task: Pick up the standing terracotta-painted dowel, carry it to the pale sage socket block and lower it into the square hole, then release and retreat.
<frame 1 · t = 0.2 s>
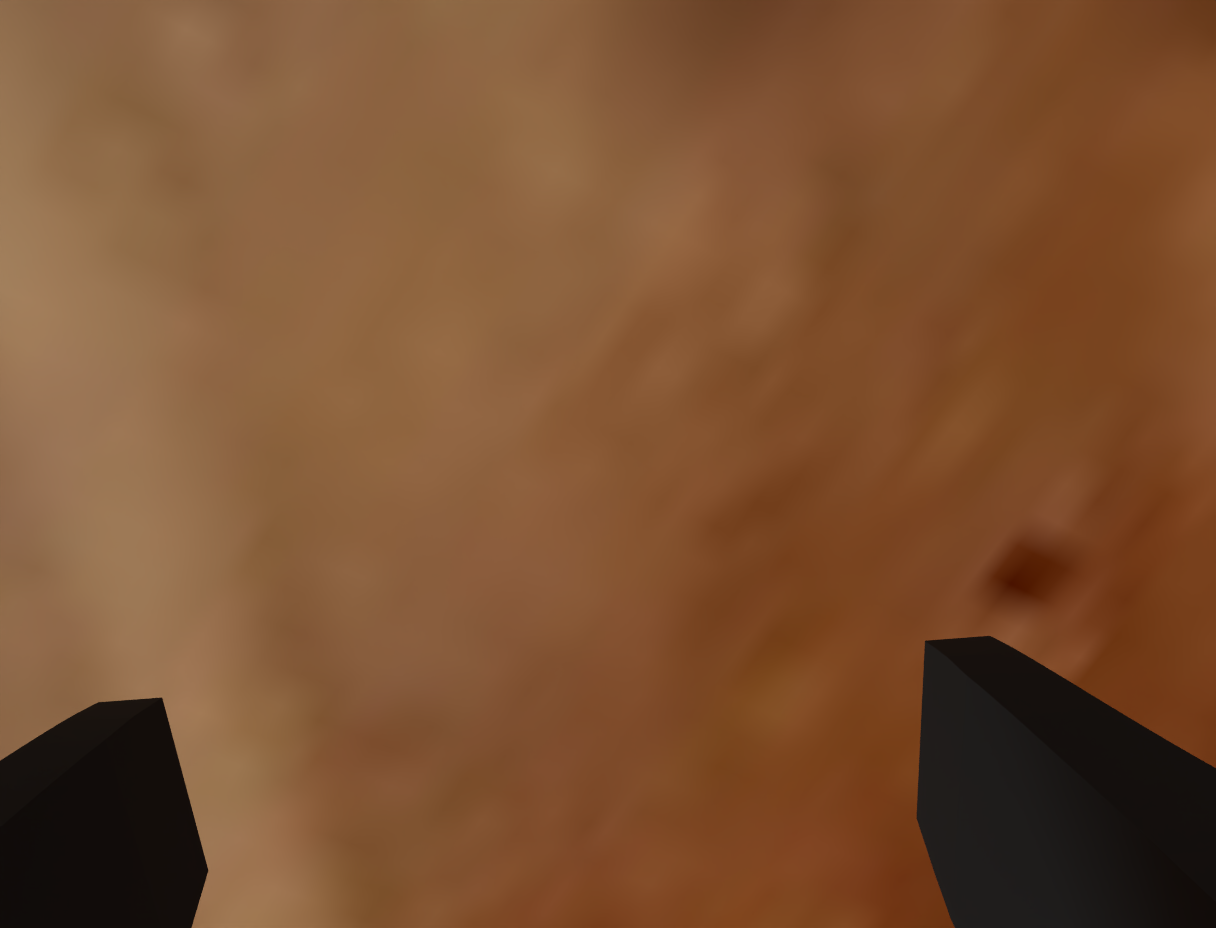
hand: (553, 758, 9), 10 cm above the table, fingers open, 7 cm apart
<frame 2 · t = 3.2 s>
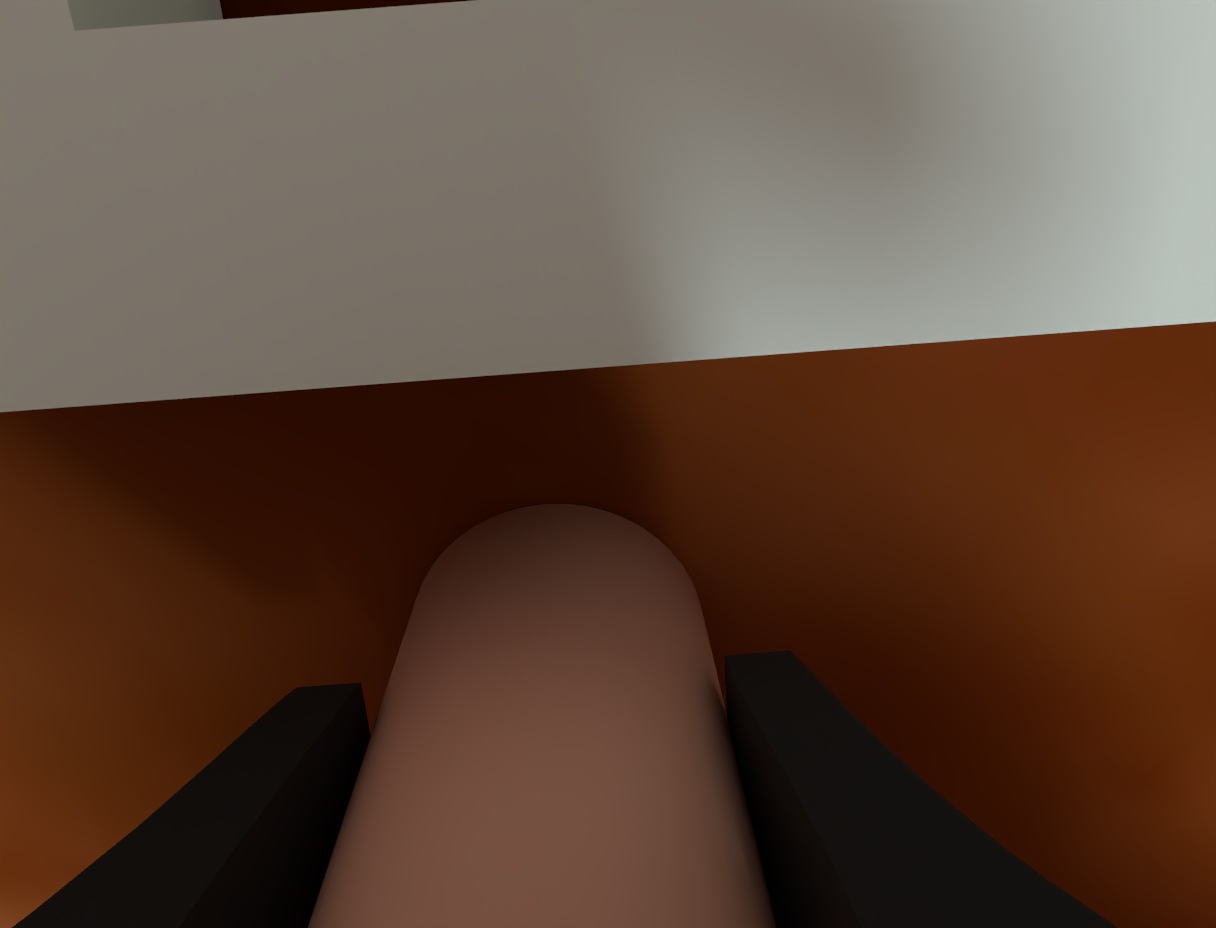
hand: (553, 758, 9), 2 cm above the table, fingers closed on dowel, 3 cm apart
dowel: (558, 638, 12), on the table, touching gripper
when the fingers open (4 cm above the table, at t = 6.6 s): dowel drops 2 cm, resting in socket block.
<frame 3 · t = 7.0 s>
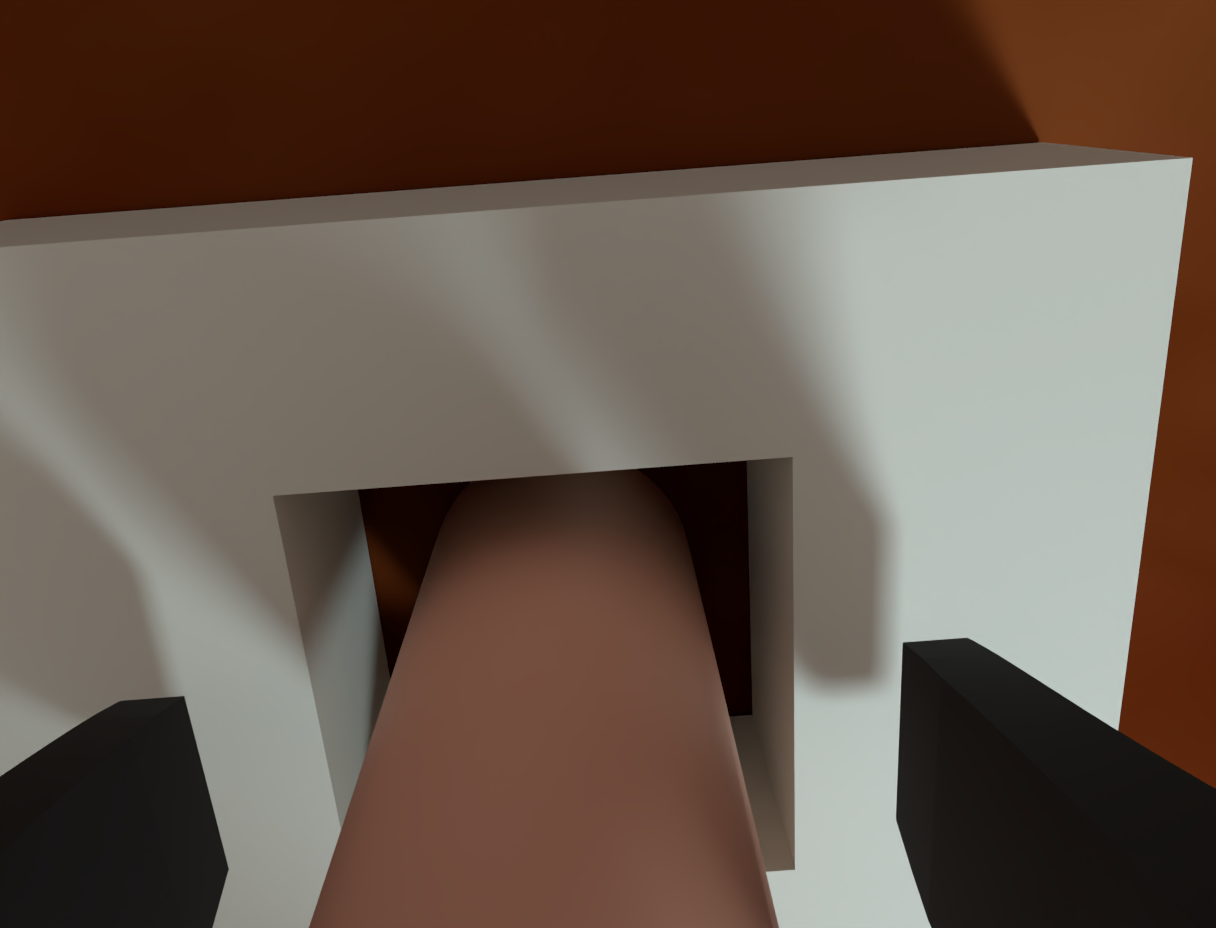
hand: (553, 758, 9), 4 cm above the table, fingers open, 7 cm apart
dowel: (562, 567, 13), resting in socket block
socket block: (561, 569, 13), on the table
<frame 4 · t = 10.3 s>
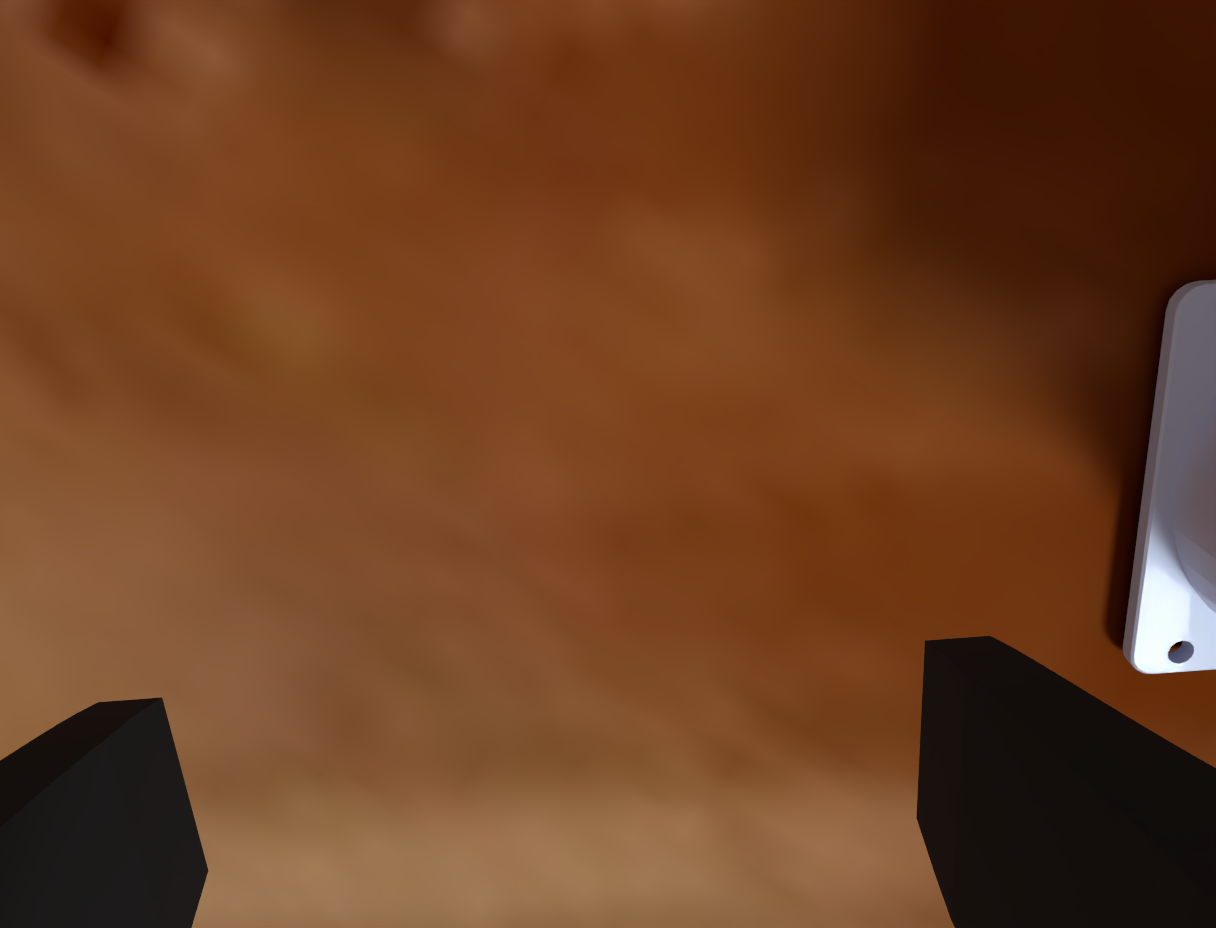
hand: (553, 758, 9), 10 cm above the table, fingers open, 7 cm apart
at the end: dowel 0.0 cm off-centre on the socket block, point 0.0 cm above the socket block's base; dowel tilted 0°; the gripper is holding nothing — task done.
